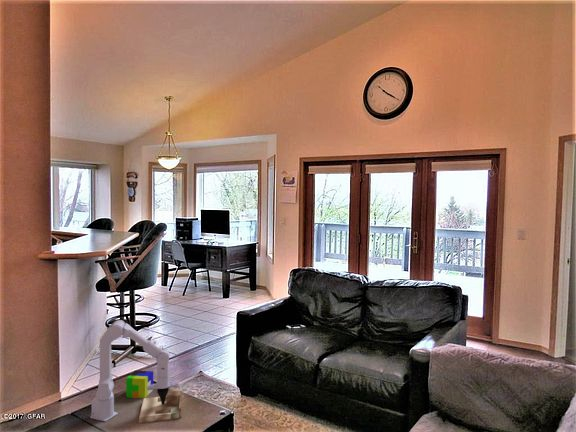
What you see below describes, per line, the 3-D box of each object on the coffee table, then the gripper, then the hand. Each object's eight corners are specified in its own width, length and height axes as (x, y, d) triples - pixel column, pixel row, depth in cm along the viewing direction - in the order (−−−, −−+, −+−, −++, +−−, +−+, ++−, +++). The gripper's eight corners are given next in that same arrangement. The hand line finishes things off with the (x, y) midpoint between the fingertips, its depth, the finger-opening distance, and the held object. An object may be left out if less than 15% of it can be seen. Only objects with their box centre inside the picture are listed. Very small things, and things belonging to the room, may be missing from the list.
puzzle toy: (153, 389, 217) (153, 371, 217) (144, 398, 207) (144, 378, 207) (135, 388, 218) (135, 370, 218) (126, 397, 208) (126, 378, 208)
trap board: (139, 422, 183) (139, 412, 183) (144, 403, 201) (144, 394, 201) (181, 417, 187) (181, 408, 187) (182, 399, 206) (182, 390, 206)
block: (166, 407, 192) (166, 396, 192) (167, 402, 197) (167, 392, 197) (177, 405, 193) (177, 395, 193) (177, 401, 198) (177, 391, 198)
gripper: (178, 370, 200) (178, 398, 200) (148, 373, 196) (148, 401, 197) (178, 376, 193) (178, 404, 193) (146, 379, 190) (146, 408, 190)
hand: (163, 403), depth 194 cm, fingers closed
